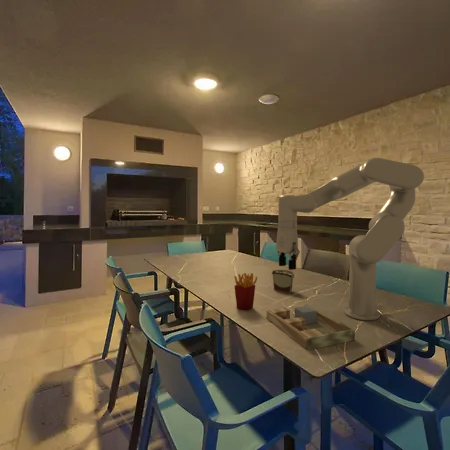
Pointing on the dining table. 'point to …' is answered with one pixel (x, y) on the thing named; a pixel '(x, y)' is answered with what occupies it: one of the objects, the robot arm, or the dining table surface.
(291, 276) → the food container
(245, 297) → the french fries
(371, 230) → the robot arm
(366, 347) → the dining table surface
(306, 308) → the block
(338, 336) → the channel
